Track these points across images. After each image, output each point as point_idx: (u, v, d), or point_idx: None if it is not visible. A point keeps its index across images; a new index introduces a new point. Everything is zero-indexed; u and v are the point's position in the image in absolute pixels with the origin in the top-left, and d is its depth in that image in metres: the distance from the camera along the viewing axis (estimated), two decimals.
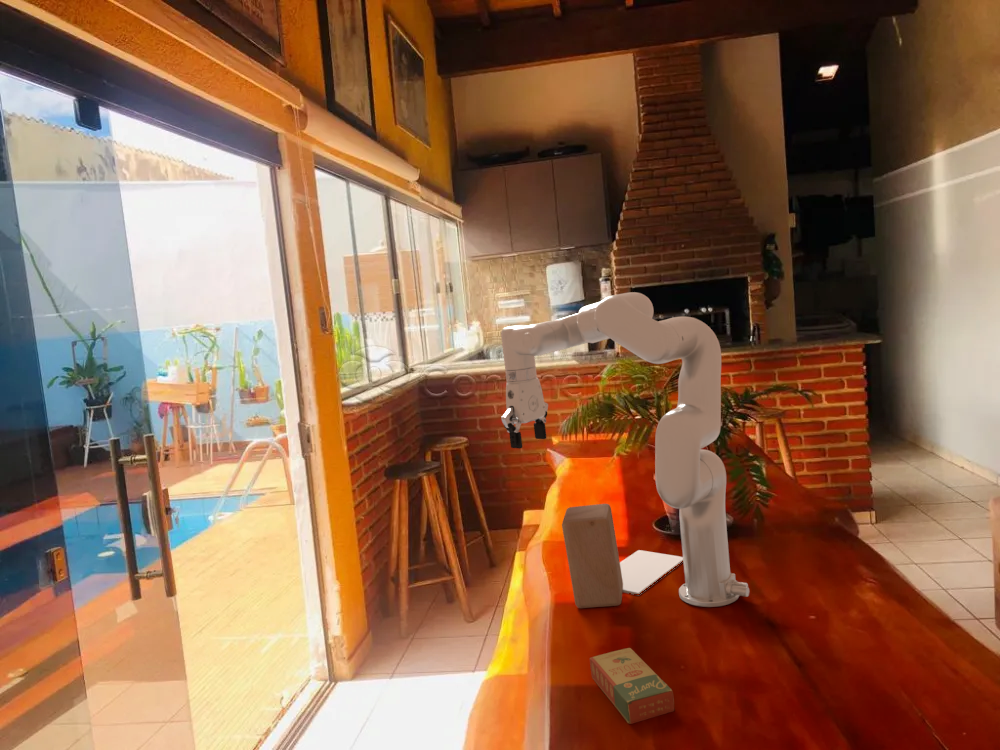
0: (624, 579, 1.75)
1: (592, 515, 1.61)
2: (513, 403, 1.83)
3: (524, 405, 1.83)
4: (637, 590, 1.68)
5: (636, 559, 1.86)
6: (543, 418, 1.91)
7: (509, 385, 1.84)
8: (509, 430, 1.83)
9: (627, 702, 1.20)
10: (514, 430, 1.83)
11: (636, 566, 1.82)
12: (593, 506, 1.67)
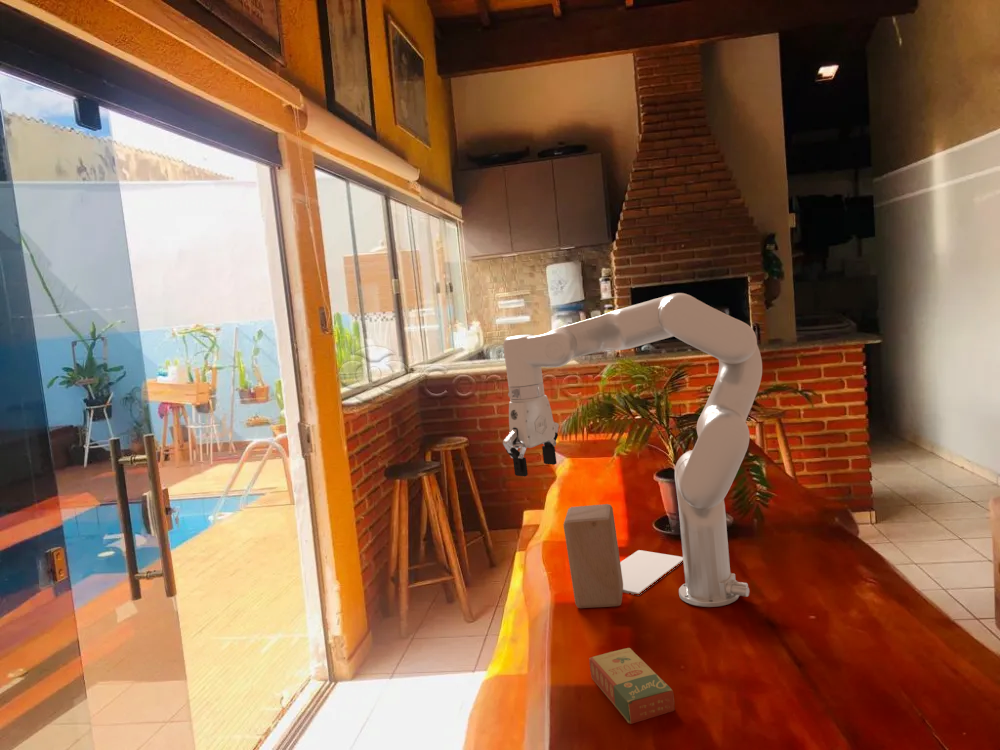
0: (624, 579, 1.75)
1: (593, 515, 1.61)
2: (517, 425, 1.59)
3: (529, 427, 1.59)
4: (637, 590, 1.68)
5: (636, 559, 1.86)
6: (553, 441, 1.67)
7: (512, 404, 1.60)
8: (512, 455, 1.60)
9: (627, 702, 1.20)
10: (518, 456, 1.59)
11: (636, 566, 1.82)
12: (595, 506, 1.66)
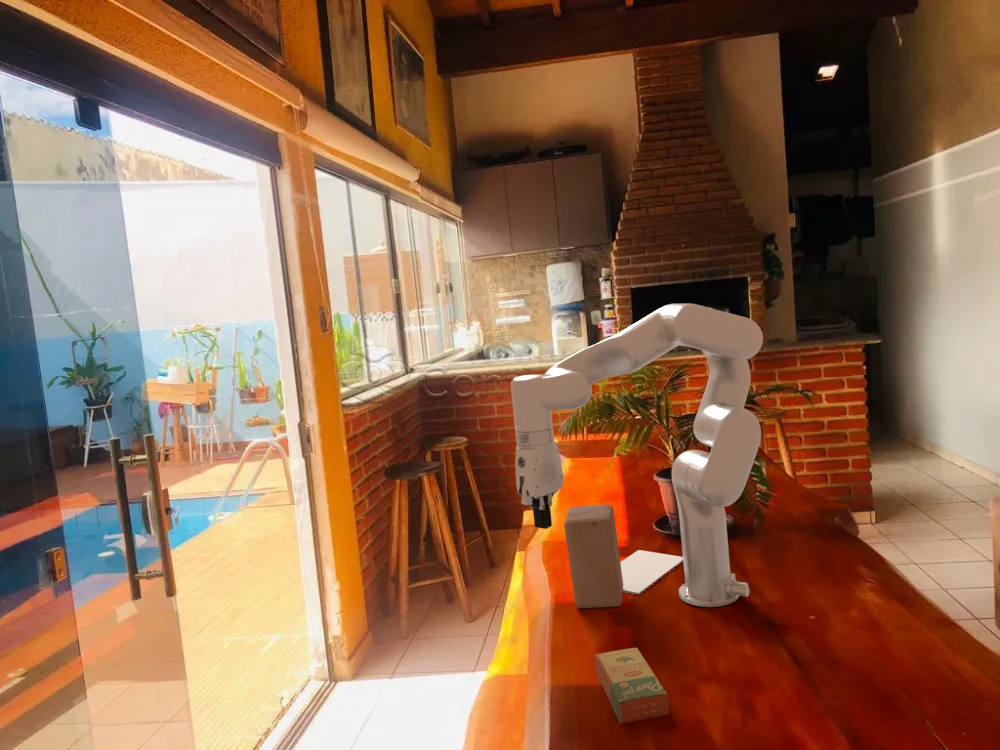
0: (624, 579, 1.75)
1: (594, 516, 1.61)
2: (524, 473, 1.47)
3: (538, 476, 1.47)
4: (637, 590, 1.68)
5: (636, 559, 1.86)
6: (548, 501, 1.51)
7: (520, 450, 1.47)
8: (533, 506, 1.50)
9: (619, 701, 1.21)
10: (540, 509, 1.50)
11: (636, 566, 1.82)
12: (595, 506, 1.66)
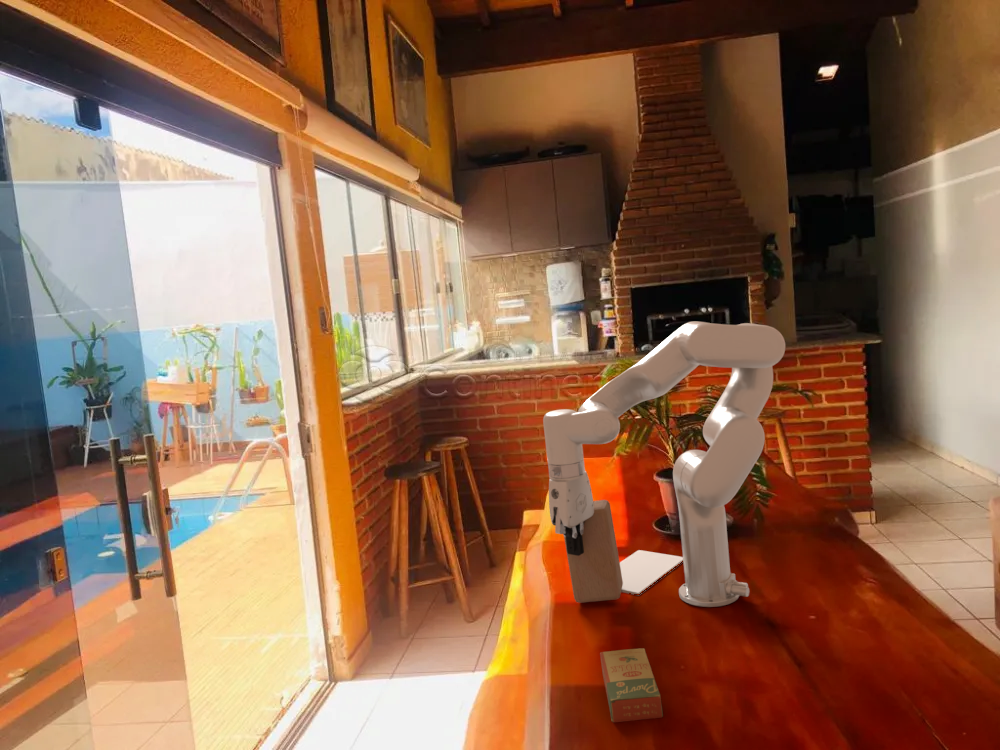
0: (624, 579, 1.75)
1: None
2: (558, 504, 1.54)
3: (571, 506, 1.54)
4: (637, 590, 1.68)
5: (636, 559, 1.86)
6: (580, 529, 1.59)
7: (553, 482, 1.55)
8: (566, 535, 1.58)
9: (610, 700, 1.21)
10: (573, 537, 1.58)
11: (636, 566, 1.82)
12: None
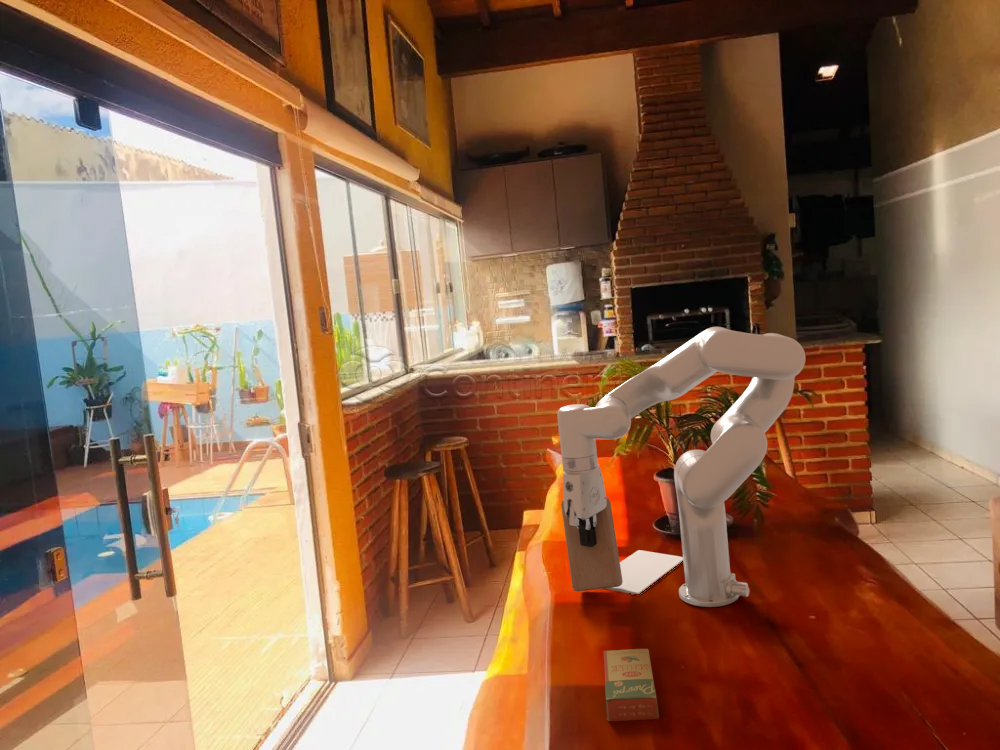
0: (624, 579, 1.75)
1: None
2: (572, 497, 1.58)
3: (585, 499, 1.58)
4: (637, 590, 1.68)
5: (636, 559, 1.86)
6: (593, 521, 1.63)
7: (567, 475, 1.59)
8: (580, 527, 1.62)
9: (606, 699, 1.22)
10: (586, 529, 1.61)
11: (636, 566, 1.82)
12: None
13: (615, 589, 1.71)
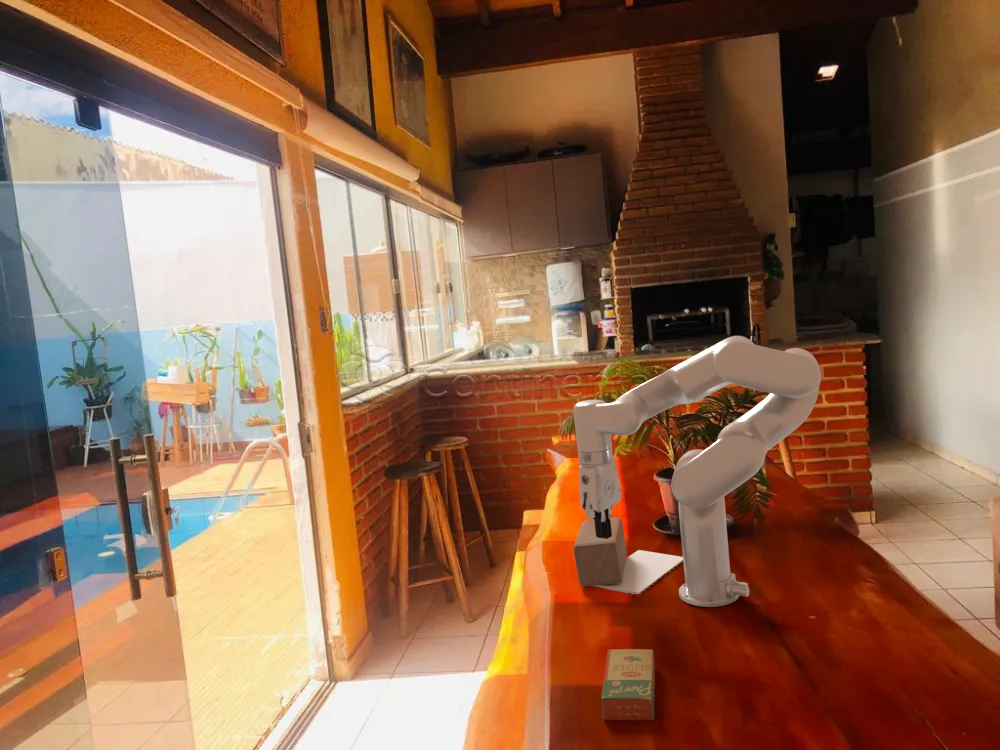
0: (624, 579, 1.75)
1: None
2: (588, 489, 1.63)
3: (600, 492, 1.63)
4: (637, 590, 1.68)
5: (636, 559, 1.86)
6: (608, 513, 1.67)
7: (583, 469, 1.63)
8: (595, 519, 1.66)
9: None
10: (602, 521, 1.66)
11: (636, 566, 1.82)
12: None
13: (615, 589, 1.71)
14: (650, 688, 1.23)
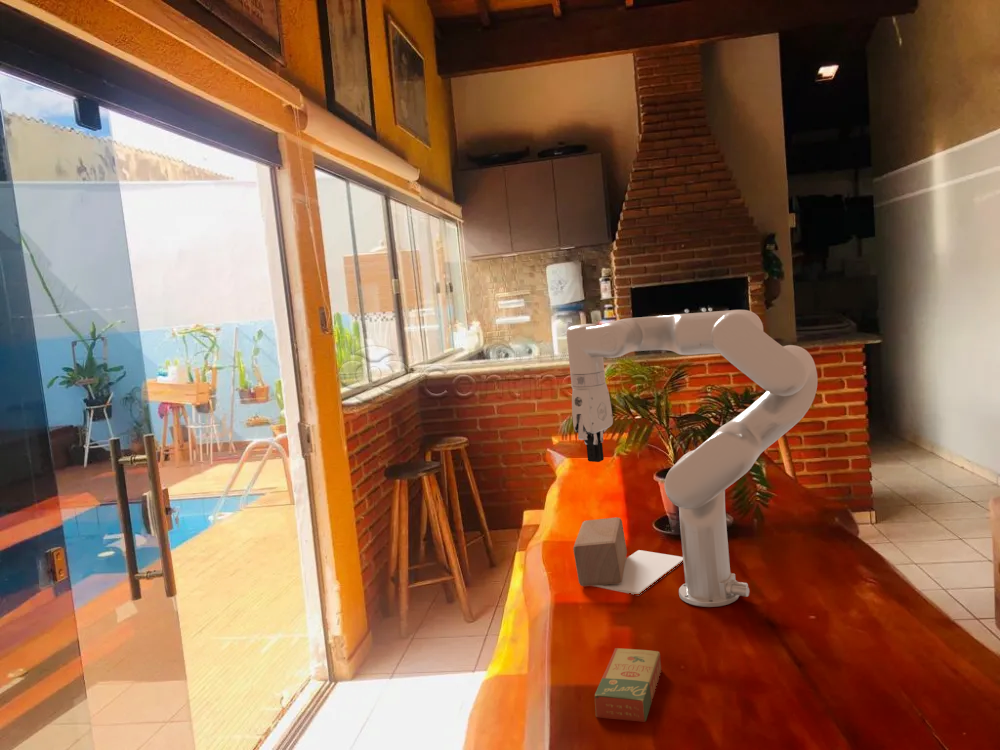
0: (624, 579, 1.75)
1: None
2: (581, 411, 1.64)
3: (593, 413, 1.64)
4: (637, 590, 1.68)
5: (636, 559, 1.86)
6: (600, 437, 1.69)
7: (576, 391, 1.65)
8: (587, 442, 1.68)
9: None
10: (594, 444, 1.68)
11: (636, 566, 1.82)
12: None
13: (615, 589, 1.71)
14: (645, 689, 1.23)
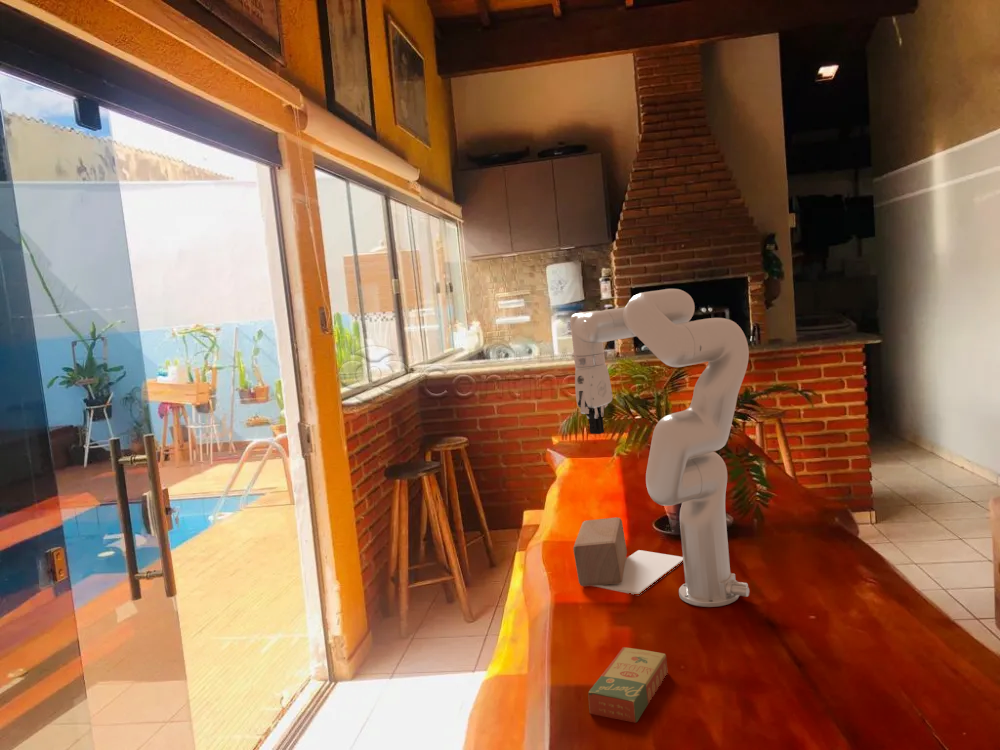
0: (624, 579, 1.75)
1: None
2: (583, 388, 1.86)
3: (594, 390, 1.86)
4: (637, 590, 1.68)
5: (636, 559, 1.86)
6: (601, 412, 1.91)
7: (579, 371, 1.87)
8: (589, 416, 1.90)
9: None
10: (595, 418, 1.89)
11: (636, 566, 1.82)
12: None
13: (615, 589, 1.71)
14: (639, 691, 1.23)
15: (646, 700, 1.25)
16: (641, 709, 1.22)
